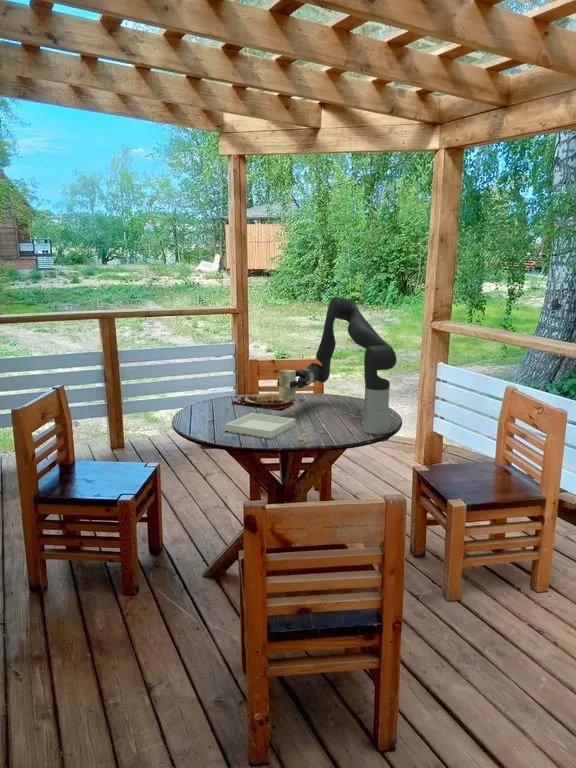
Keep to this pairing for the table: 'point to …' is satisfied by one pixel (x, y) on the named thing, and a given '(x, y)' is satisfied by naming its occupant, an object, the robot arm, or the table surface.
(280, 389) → the block
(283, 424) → the tray
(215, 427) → the table surface
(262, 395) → the plate with food
